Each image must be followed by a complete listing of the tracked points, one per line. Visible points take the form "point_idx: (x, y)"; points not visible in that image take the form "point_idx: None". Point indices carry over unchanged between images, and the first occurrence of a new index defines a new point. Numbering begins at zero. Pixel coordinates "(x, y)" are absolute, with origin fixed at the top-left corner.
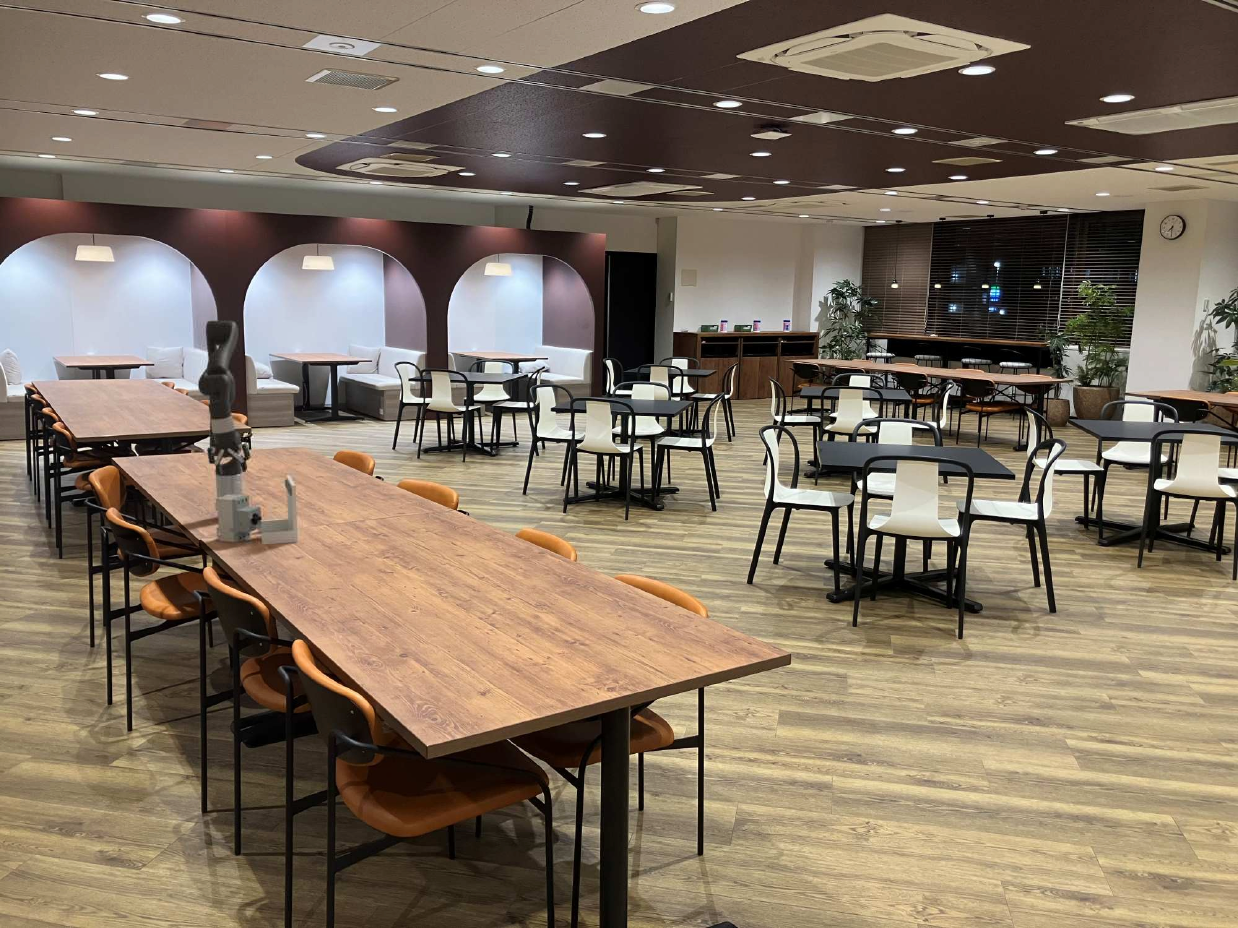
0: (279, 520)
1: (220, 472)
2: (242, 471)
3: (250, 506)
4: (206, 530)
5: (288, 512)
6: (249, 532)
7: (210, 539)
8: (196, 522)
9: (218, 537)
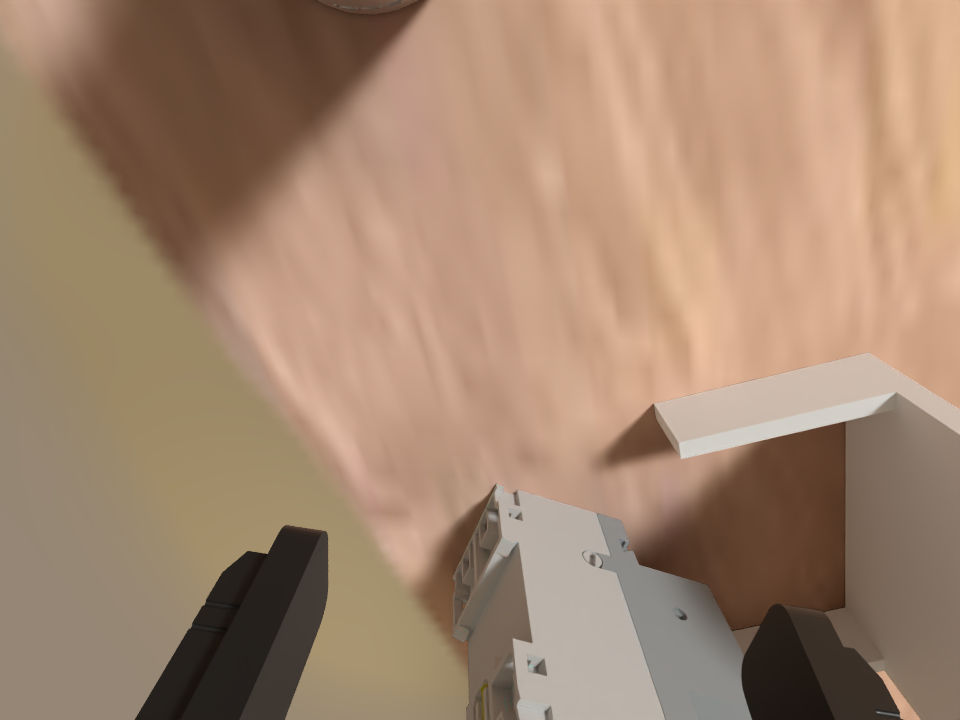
0: (829, 421)
1: (311, 639)
2: (747, 692)
3: (698, 702)
4: (307, 347)
5: (937, 479)
6: (625, 548)
7: (409, 552)
8: (109, 56)
9: (459, 586)
